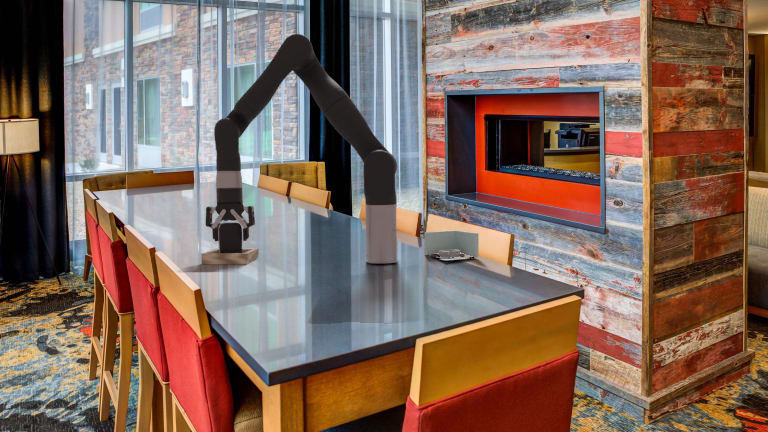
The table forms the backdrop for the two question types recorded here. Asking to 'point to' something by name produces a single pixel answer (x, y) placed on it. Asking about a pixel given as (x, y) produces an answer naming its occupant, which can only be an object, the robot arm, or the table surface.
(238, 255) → the beige square frame
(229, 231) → the battery charger
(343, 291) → the table surface
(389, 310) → the table surface
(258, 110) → the robot arm
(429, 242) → the l-shaped corner panel
